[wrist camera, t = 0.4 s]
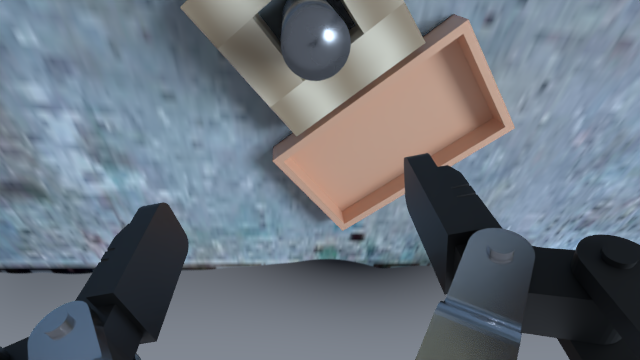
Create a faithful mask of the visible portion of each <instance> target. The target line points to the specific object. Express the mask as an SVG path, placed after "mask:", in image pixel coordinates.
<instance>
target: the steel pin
mask: <svg viewBox="0 0 640 360" xmlns="http://www.w3.org/2000/svg"><path fill="white" fill-rule="evenodd" d="M350 48H351V39H350V34H349V30H348V28H347V26H346V24H345V22H344V21H343V20H342V18H341V17H340V16H339V15H338V14H337V13H336V11H335V10H334V9H333V8H332V7H331V5H330V4H329V3H328V2H327V1H326V0H287V2H286V4H285V6H284V9H283V15H282V31H281V52H282V56H283V58H284V61H285V63H286V65H287V66H288V67H289V69H290V70H291V71H292V72H293V73H294V74H296V75H297V76H299V77H301V78H303V79H306V80H310V81H321V80H325V79H328V78H330V77H332V76H334V75H335V74H337V73H338V72H339V71H340V70H341V69H342V68H343V66H344V65H345V63H346V61H347V59H348V57H349V53H350Z"/></svg>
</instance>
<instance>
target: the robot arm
mask: <svg viewBox="0 0 640 360" xmlns="http://www.w3.org/2000/svg"><path fill="white" fill-rule="evenodd" d="M404 182H405V198H406V204H407V208H408V211H409V214H410V216H411V218H412V221H413V223H414V225H415V227H416V230H417V232H418V234H419V237H420V239H421V241H422V244H423V246H424V248H425V251H426V253H427V255H428V257H429V260H430V262H431V264H432V267H433V269H434V271H435V273H436V276H437V278H438V280H439V283H440V285H441V287H442V290H443V292H444V294H447V297H446V299H445V301H444V302H443V301H440V303H439V304H438V306H437V308H436V310H435V312H434V315H433V317H432V319H431V322H430V324H429V327H428V329H427V332H426V334H425V337H424V339H423V342H422V344H421V347H420V349H419V351H418V354H417V356H416V359H415V360H517V357H518V352H519V347H520V341H521V335H522V333H527V334H534V335H541V336H547V337H554V338H557V339H558V341H559V342H560V344H561V346H562V347H563V349H564V351H565V352H566V354H567V356H568V357H569V359H570V360H640V245H639V244H637V243H635V242H632V241H630V240H627V239H624V238H621V237H617V236H611V235H593V236H588V237H586V238H584V239H582V240H581V241H580V242H579V243H578V245H577V248H576V250H565V249H552V248H541V247H535V246H531V244H530V243H529V242H528V241H527V240H526V239H525V238H523V237H522V236H520V235H519V234H517V233H515V232H512V231H509V230H506V229H502V227H501V226H500V225H499V223H498V222H497V221H496V219H495V218H494V217H493V215H492V214H491V213H490V211H489V210H488V209H487V207H486V206H485V205H484V203H483V202H482V200H481V199H480V198H479V196H478V195H476V193H475V191H474V190H473V188H472V187H471V186H469V183H468V182H467V180H466V179H465V178H464V176H463V175H462V174H461V173H460V172H459V171H457V170H455V169H454V168H452V167H450V166H448V165H445V166H440V167H438V166H437V165H436V163H435V162H434V160H433V159H432V157H431V156H430V154H429V153H425V154H419V155H414V156H409V157H405V158H404ZM187 253H188V239H187V236H186V234H185V232H184V230H183V228H182V227H181V225H180V223H179V222H178V220H177V218H176V216H175V215H174V213H173V211H172V210H171V208H170V206H169V205H168V204H167V203H158V204H153V205H147V206H142V207H140V208H139V209H138V211H137V212H136V214H135V216H134V217H133V219H132V221H131V223H130V224H128V225H127V226H126V227H125V228H124V229H122V230H121V231H120V232H119V233H118V234H117V235H116V236H115V238H114V239H113V241H112V242H111V244H110V246H109V247H108V251H107V252H105V254H104V255H103V257H102V259H101V262H99V263H98V265H97V267H96V268H95V270H94V271H93V273H92V275H91V276H90V278H89V280H88V281H87V283H86V284H85V286H84V288H83V289H82V291H81V293H80V294H79V296H78V297H77V299H76V300H75V301H72V302H69V303H66V304H64V305H62V306H60V307H58V308H56V309H55V310H53V311H52V312H50V313H49V314H48V315H46V316H45V317H44V318H43V319H42V320H41V321H40V322H39V323H38V324H37V325H36V327H35V328H34V329H33V331H32V332H31V334H30V336H29V337H27V338H25V339H23V340H21V341H18V342H16V343H14V344H11V345H9V346H7V347H5V348H2V347H0V360H141V358H140V357H139V355H138V354H137V353H136V351H137V349H138V346H139V344H143V343H149V342H155V341H157V339H158V336H159V333H160V330H161V327H162V324H163V321H164V319H165V316H166V313H167V310H168V307H169V304H170V301H171V299H172V296H173V293H174V290H175V287H176V284H177V281H178V278H179V275H180V273H181V270H182V267H183V264H184V261H185V259H186V256H187Z"/></svg>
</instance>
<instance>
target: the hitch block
mask: <svg viewBox="0 0 640 360" xmlns="http://www.w3.org/2000/svg"><path fill="white" fill-rule="evenodd" d="M270 1H271V0H187V1H186V2H185V3H184V4H183V5H182V6H181V7H180V8H181V9H182V10H183V11H184V12H185V14H186V15H187V16H188V17H189V18H190V19H191V20H192V21H193V22H194V24H195V25H196V26H197V27H198V28H199V29H200V30H201V31H202V32H203V34H204V35H205V36H206V37H207V38H208V39H209V40H210V41H211V42H212V44H213V45H214V46H215V47H216V48H217V49H218V50H219V51H220V52H221V53H222V55H223V56H224V57H225V58H226V59H227V60H228V61H229V62H230V63H231V65H232V66H233V67H234V68H235V69H236V70H237V71H238V72H239V73H240V75H241V76H242V77H243V78H244V79H245V80H246V81H247V82H248V83H249V85H250V86H251V87H252V88H253V89H254V90H255V91H256V92H257V93H258V94H259V96H260V97H261V98H262V99H263V100H264V101H265V102H266V103H267V104H268V106H269V107H270V108H271V109H272V110H273V111H274V112H275V113H276V114H277V116H278V117H279V118H280V119H281V120H282V121H283V122H284V123H285V124H286V125H287V127H288V128H289V129H290V130H291V131H292V132H293V133H294V134H295V135H296V137H297V136H298V135H300V134H301V133H302V132H304V131H305V130H307V129H308V128H309V127H311V126H312V125H313V124H315V123H316V122H317V121H319V120H320V119H322V118H323V117H324V116H326V115H327V114H328V113H330V112H331V111H333V110H334V109H335V108H337V107H338V106H339V105H341V104H342V103H344V102H345V101H346V100H348V99H349V98H350V97H352V96H353V95H355V94H356V93H357V92H359V91H360V90H361V89H363V88H364V87H366V86H367V85H368V84H370V83H371V82H372V81H374V80H375V79H376V78H378V77H379V76H381V75H382V74H383V73H385V72H386V71H387V70H389V69H390V68H392V67H393V66H394V65H396V64H397V63H398V62H400V61H401V60H403V59H404V58H405V57H407V56H408V55H409V54H411V53H412V52H414V51H415V50H416V49H418V48H419V47H420V46H422V45H423V44H425V43H426V42H425V41H424V39H423V37H422V35H421V33H420V31H419V29H418V27H417V25H416V23H415V21H414V19H413V18H412V16H411V14H410V12H409V10H408V8H407V6H406V4H405V2H404V0H340V1H341V2H342V4H343V6H344V7H345V9H346V10H347V12H348V14H349V15H350V17H351V18H352V20H353V21H354V23H355V26H354V27H353V28H352V29H350V30H349V34H350V39H351V48H350V53H349V57H348V59H347V61H346V63H345V65H344V66H343V68H342V69H341V70H340V71H339V72H338V73H337V74H335V75H334V76H332V77H330V78H328V79H325V80H321V81H310V80H306V79H303V78H301V77H299V76H297V75H296V74H294V73H293V72H292V71H291V70H290V69H289V67H288V66H287V65H286V63H285V61H284V58H283V56H282V52H281V42H280V41H279V39H278V38H277V37H276V35H275V34H274V33H273V32H272V30H271V29H270V28H269V27H268V25H267V24H266V23H265V21H264V20H263V19H262V18H261V16H260V15H259V14H258V12H259V11H260V10H261V9H262V8H264V7H265V6H266V5H267V4H268V3H269V2H270Z"/></svg>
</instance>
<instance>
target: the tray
mask: <svg viewBox="0 0 640 360" xmlns="http://www.w3.org/2000/svg"><path fill="white" fill-rule="evenodd" d="M423 39H424V41H425V42H426V43H425V44H423V45H422V46H420V47H419V48H418V49H416V50H415V51H414V52H412V53H411V54H409V55H408V56H407V57H405V58H404V59H403V60H401V61H400V62H398V63H397V64H396V65H394V66H393V67H392V68H390V69H389V70H387V71H386V72H385V73H383V74H382V75H381V76H379V77H378V78H376V79H375V80H374V81H372V82H371V83H370V84H368V85H367V86H366V87H364V88H363V89H361V90H360V91H359V92H357V93H356V94H355V95H353V96H352V97H350V98H349V99H348V100H346V101H345V102H344V103H342V104H341V105H339V106H338V107H337V108H335V109H334V110H333V111H331V112H330V113H328V114H327V115H326V116H324V117H323V118H322V119H320V120H319V121H317V122H316V123H315V124H313V125H312V126H311V127H309V128H308V129H307V130H305V131H304V132H302V133H301V134H300V135H298V136H297V137H296V135H295V134H294V133H292V134H290V135H289V136H288V137H286V138H285V139H284V140H282V141H281V142H280V143H278V144H277V145H275V146H274V147H273V160H272V161H273V162H274V163H275V164H276V165H277V166H278V167H279V168H280V169H281V170H282V171H283V172H284V173H285V174H286V175H287V176H288V177H289V178H290V179H291V180H292V181H293V182H294V183H295V184H296V185H297V186H298V187H299V188H300V189H301V190H302V191H303V192H304V193H305V194H306V195H307V196H308V197H309V198H310V199H311V200H312V201H313V202H314V203H315V204H316V205H317V206H318V207H319V208H320V209H321V210H322V211H323V212H324V213H325V214H326V215H327V216H328V217H329V218H330V219H331V220H332V221H333V222H334V223H335V224H336V225H337V226H338V227H339V228H340V229H341V230H342V231H343V230H345V229H347V228H348V227H350V226H352V225H353V224H355V223H357V222H358V221H360V220H362V219H363V218H365V217H367V216H368V215H370V214H372V213H373V212H375V211H377V210H378V209H380V208H382V207H383V206H385V205H387V204H389V203H390V202H392V201H394V200H395V199H397V198H399V197H400V196H402V195H404V194H405V182H404V158H405V157H409V156H414V155H419V154H425V153H429V154H430V156H431V157H432V159H433V160H434V162H435V163H436V165H437V166H438V167H440V166H445V165H448V166H450V167H451V166H452V165H454V164H456V163H457V162H459V161H461V160H462V159H464V158H466V157H467V156H469V155H471V154H472V153H474V152H476V151H477V150H479V149H481V148H482V147H484V146H486V145H488V144H489V143H491V142H493V141H494V140H496V139H498V138H499V137H501V136H503V135H504V134H506V133H508V132H509V131H511V130H513V129H514V128H515V127H514V124H513V122H512V120H511V117H510V115H509V113H508V110H507V108H506V106H505V103H504V101H503V99H502V97H501V94H500V92H499V90H498V87H497V85H496V83H495V80H494V78H493V76H492V73H491V71H490V69H489V66H488V64H487V62H486V59H485V57H484V55H483V52H482V50H481V48H480V45H479V43H478V41H477V38H476V36H475V34H474V31H473V29H472V27H471V24H470V22H469V20H468V19H466V18H463V17H460V16H457V15H455V14H453V15H452V16H451V17H449V18H448V19H447V20H445V21H444V22H443V23H441V24H440V25H438V26H437V27H436V28H434V29H433V30H432V31H430V32H429V33H428V34H426V35H425V36H424V37H423Z"/></svg>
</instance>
